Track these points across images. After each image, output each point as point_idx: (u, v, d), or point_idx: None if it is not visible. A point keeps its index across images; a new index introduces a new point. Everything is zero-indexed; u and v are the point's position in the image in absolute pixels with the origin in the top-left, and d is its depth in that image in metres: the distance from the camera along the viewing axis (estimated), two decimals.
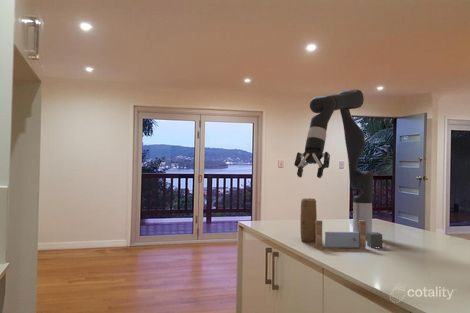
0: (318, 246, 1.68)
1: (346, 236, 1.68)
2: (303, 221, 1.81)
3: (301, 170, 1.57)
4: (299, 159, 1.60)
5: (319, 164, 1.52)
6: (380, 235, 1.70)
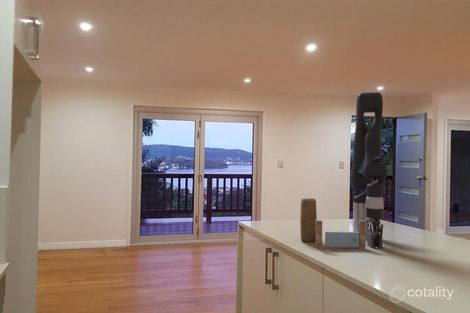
0: (318, 246, 1.68)
1: (346, 236, 1.68)
2: (303, 221, 1.81)
3: None
4: None
5: (374, 234, 1.70)
6: None
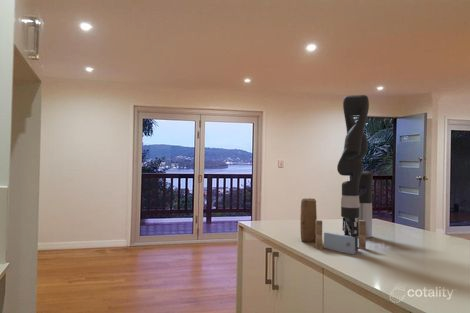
0: (318, 246, 1.68)
1: (341, 240, 1.61)
2: (303, 221, 1.81)
3: None
4: None
5: (350, 234, 1.61)
6: None
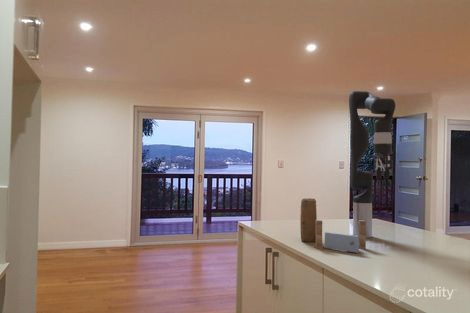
0: (318, 246, 1.68)
1: (344, 239, 1.62)
2: (303, 221, 1.81)
3: (379, 173, 1.76)
4: None
5: (383, 168, 1.68)
6: None
